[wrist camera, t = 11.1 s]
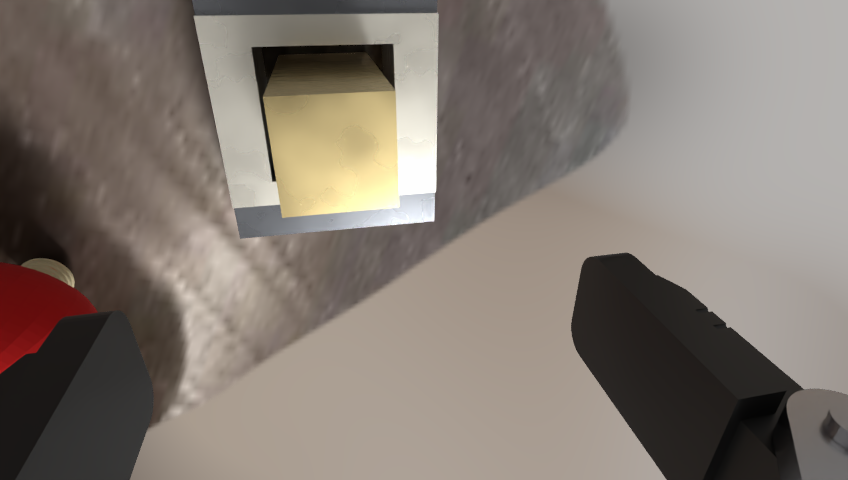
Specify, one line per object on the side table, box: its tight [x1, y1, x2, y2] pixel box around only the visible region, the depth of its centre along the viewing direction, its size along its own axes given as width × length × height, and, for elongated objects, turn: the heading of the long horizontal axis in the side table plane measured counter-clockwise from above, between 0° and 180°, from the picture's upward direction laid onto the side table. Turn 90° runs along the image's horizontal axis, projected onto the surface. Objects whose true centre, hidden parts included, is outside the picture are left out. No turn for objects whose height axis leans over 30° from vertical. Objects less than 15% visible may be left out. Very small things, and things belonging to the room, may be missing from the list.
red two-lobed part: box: [0, 258, 98, 374], centre depth 23 cm, size 9×7×10 cm
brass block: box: [263, 52, 399, 218], centre depth 22 cm, size 4×4×10 cm
